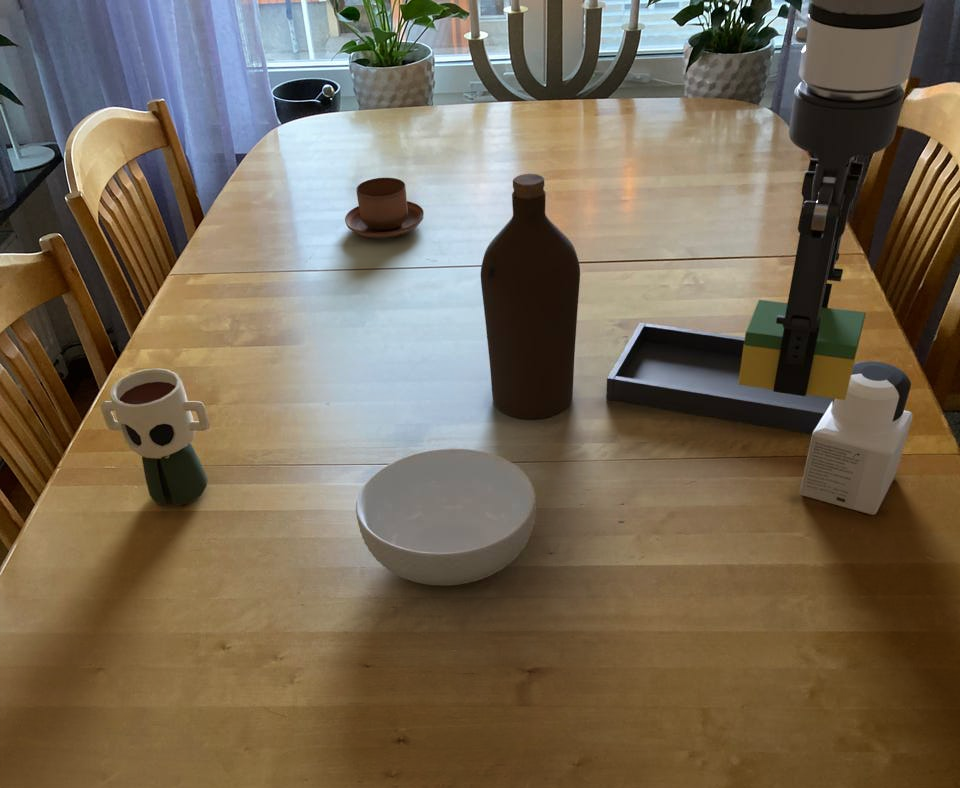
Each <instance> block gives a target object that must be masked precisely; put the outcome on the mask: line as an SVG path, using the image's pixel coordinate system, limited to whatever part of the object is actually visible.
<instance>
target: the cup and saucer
mask: <svg viewBox="0 0 960 788" xmlns="http://www.w3.org/2000/svg"><path fill="white" fill-rule="evenodd" d="M355 191H356V198H357V203H358V204H357V206H355V207H353V208H352V209H351V210H350V211H348V212H347V214H346V215H345V216H344V223H345V225H346V227H347V229H349V230H350V231H351V232H353V233H354V234H356V235H359V236H362V237H366V238H372V239H385V238H386V239H387V238H394V237H398V236H401V235H404V234H407V233H409V232H410V231H413V230H414V229H416V228H417V227H419V225H420V224H421V223H422V221H423V219H424V213H425V212H424V209H423V208H422V206H420V204H417V203H415V202H412V201H408V199H407V189H406V183H405V182H404V181H403V180H401V179H399V178H394V177H375V178H371V179H367V180H365V181H362V182H361V183H359V184H358V185H357V186H356V190H355Z"/></svg>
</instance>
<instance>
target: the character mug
mask: <svg viewBox="0 0 960 788" xmlns="http://www.w3.org/2000/svg"><path fill="white" fill-rule="evenodd" d="M109 397H110V400H106V401H102V402H99V403H100V411H101V414H102V416H103V417H102V418H103V419H104V422H105V425H106V427H107V428H108V429H109V430H110V431H119V432H120V431H121V434H122V436H123V439H124V442H125V443H126V444H127V446H128V447H129V449H130V450H131V451H133V452H135V453H136V454H137V455H139V456H141V461H142V468H143V472H144V479H145V483H146V487H147V490H148V495H149V497H150V498H151V499H152V501H153V502H154V503H157V504H159V505H161V506H167V503H166V497H167V498H171V499H172V502H173V505H174V506H180V505H181V506H182V505H184V504H188V503H192V502H193V501H194V500H196V499H198V498H199V497H201V496H202V494H203V493H204V491H205V490H206V488H207V485H208V476H207V473H206V472H205V470H204V466H203V465H202V463H201V461H200V459H199V456H198V455H197V453H196V451H195V449H194V446H193V445H192V441H193V440H194V437H195V434H196V432H205V431H207V430H210V427H211V426H210V425H211V424H210V421H209V417H208V414H207V411H206V407H205V404H204V403H203V402H202V401H199V400H188V395H187V393H186V389H185V387H184V384H183V381H182V379H181V378H180V376H179V374H178V373H177V372H174V371H172V370H170V369H168V368H167V369H166V368H159V367H157V368H146V369H145V368H144V369H141V370H137V371H134V372H131V373H128V374H127V375H125V376H123V377H121V378H120V379H118V380H117V381H116V382H115V383H114V384H113V385H112V386H111V388H110V392H109ZM113 412H114V413H115V417H116V419H115V417H114V413H113ZM192 412H195V413H196V415H197V419H198V420H194V416H193V413H192Z"/></svg>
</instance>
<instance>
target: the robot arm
mask: <svg viewBox="0 0 960 788" xmlns="http://www.w3.org/2000/svg"><path fill="white" fill-rule="evenodd" d="M925 2H926V0H809V1H808V7H807V16H806V22H805V25H806V26H802V27H801V26H800V27H797V29H796V31H795V33H794V40H795V41H796V43H800V44H805V45H804V46H803V48H802V50H801V54H800V61H799V66H798V76H799V77H800V79H801V80H802V81H801V82H800V83H799V84H798V85H797V86H796V87H795V89H794V94H793V101H792V106H791V114H790V119H789V127H788V136H789V139H790V141H791V142H792V143H793V144H794V145H795V146H796V147H797V148H799V149H801V150H803V151H805V152H806V151H808V152H810V153H812V154H814V155H815V156H816V157H817V158H810V160H809V163H808V168H807V170H805V172H804V177H803V180H802V187H801V195H802V198H803V199H802V202H801V203H802V205H801V209H800V213H799V214H800V215H799V220H798V224H797V232H798V233H799V237H798V242H797V248H796V254H795V259H794V265H793V270H792V276H791V281H790V287H789V293H788V297H787V302H786V303H787V309H786V315H778V316H777V320H776V323H777V324H783V328H784V332H783V337H782V343H781V349H780V355H779V360H778V366H777V372H776V378H775V384H774V389H773V392H779V393H786V394H793V395H800V396H806V393H807V388H808V383H809V378H810V373H811V368H812V363H813V358H814V353H815V348H816V343H817V338H818V333H819V328H820V323H821V321H820V320H821V318H820V317H819V316H820V312H821V307H824V308H829V304H830V303H829V301H830V297H831V292H832V287H833V283H828V281H830V282H831V281H832V282H839V283H840V282H841V281H842V278H843V276H842V275H843V273H844V268H837V267H835V265H836V263H837V262H838V260H839V259H840V258H839V257H840V253H839V251H840V245H841V241H842V236H843V234H844V233H845V231H846V227H847V222H848V218H849V216H850V214H851V211H852V207H853V203H854V199H855V198H856V196H857V193H858V188H859V185H860V182H861V178H862V174H863V170H864V166H865V165H864V164H865V163H864V162H859V161H858V156H861V155H864V156H869V155H872V154H875V153H878V152H880V151H883V150H884V149H886V148H887V147H889V146H890V145H891V144H892V143H893V141H894V139H895V137H896V133H897V129H898V125H899V120H900V115H901V111H902V106H903V102H904V97H905V90H904V89H903V87H902V85H903V84H904V83H905V82H906V81H907V80H908V79H909V78H910V74H911V70H912V66H913V62H914V56H915V53H916V48H917V43H918V39H919V35H920V30H921V26H922V21H923V17H924V14H923V12H924V7H925Z"/></svg>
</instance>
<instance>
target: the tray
mask: <svg viewBox="0 0 960 788" xmlns="http://www.w3.org/2000/svg"><path fill="white" fill-rule="evenodd" d="M744 341H745V336H737V335H731V334H723V333H717V332H710V331H704V330H703V331H702V330H696V329H688V328H682V327H677V326H676V327H675V326H669V325H661V324H655V323H648V322H647V323H646V322H642V321H641V322H639V324H638V325H637V327H636V328H635V330H634V331H633V333H632V335H631V337H630V339H629V340H628V342H627V344H626V345H625V347H624V349H623V350H622V352H621V354H620V355H619V357H618V359H617V360H616V362H615V364H614V366H613V368H612V369H611V371H610V373H608V376H607V377H606V395H605V400H607V401H614V402H620V403H626V404H631V405H637V406H644V407H648V408H655V409H661V410H666V411H667V410H668V411H673V412H679V413H685V414H690V415H695V416H696V415H697V416H701V417H708V418H714V419H720V420H726V421H731V422H737V423H744V424H749V425H755V426H761V427H765V428H766V427H767V428H773V429H779V430H785V431H789V432H795V433H803V434H807V435H812V433H813V431H814V430H815V428H816V427H817V425H818V423H819V422H820V420H821V419H822V417H823V415H824V414H825V412H826V411H827V409H828V407H829V406H830V404H831V403H832V401H833V398H827V397H820V396H813V395H806V396H800V395H793V394H786V393H779V392H773V390H772V389H765V388H758V387H751V386H744V385H738V383H739V376H740V369H741V362H742V355H743V348H744Z"/></svg>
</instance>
